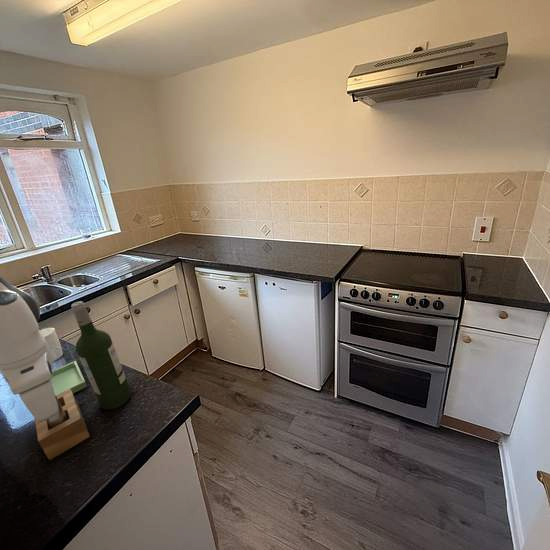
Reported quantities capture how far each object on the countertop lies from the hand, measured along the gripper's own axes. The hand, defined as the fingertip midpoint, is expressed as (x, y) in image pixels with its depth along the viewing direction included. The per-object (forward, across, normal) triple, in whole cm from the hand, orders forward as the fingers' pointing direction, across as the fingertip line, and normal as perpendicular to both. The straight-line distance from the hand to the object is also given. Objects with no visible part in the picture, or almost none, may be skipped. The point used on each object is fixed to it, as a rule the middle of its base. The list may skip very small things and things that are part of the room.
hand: (53, 411), depth 69 cm
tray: (+9, -25, +2) cm, 27 cm away
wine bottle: (+9, -4, +13) cm, 16 cm away
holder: (+9, -3, 0) cm, 9 cm away
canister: (+9, 0, 0) cm, 9 cm away
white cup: (+9, -47, +2) cm, 48 cm away
